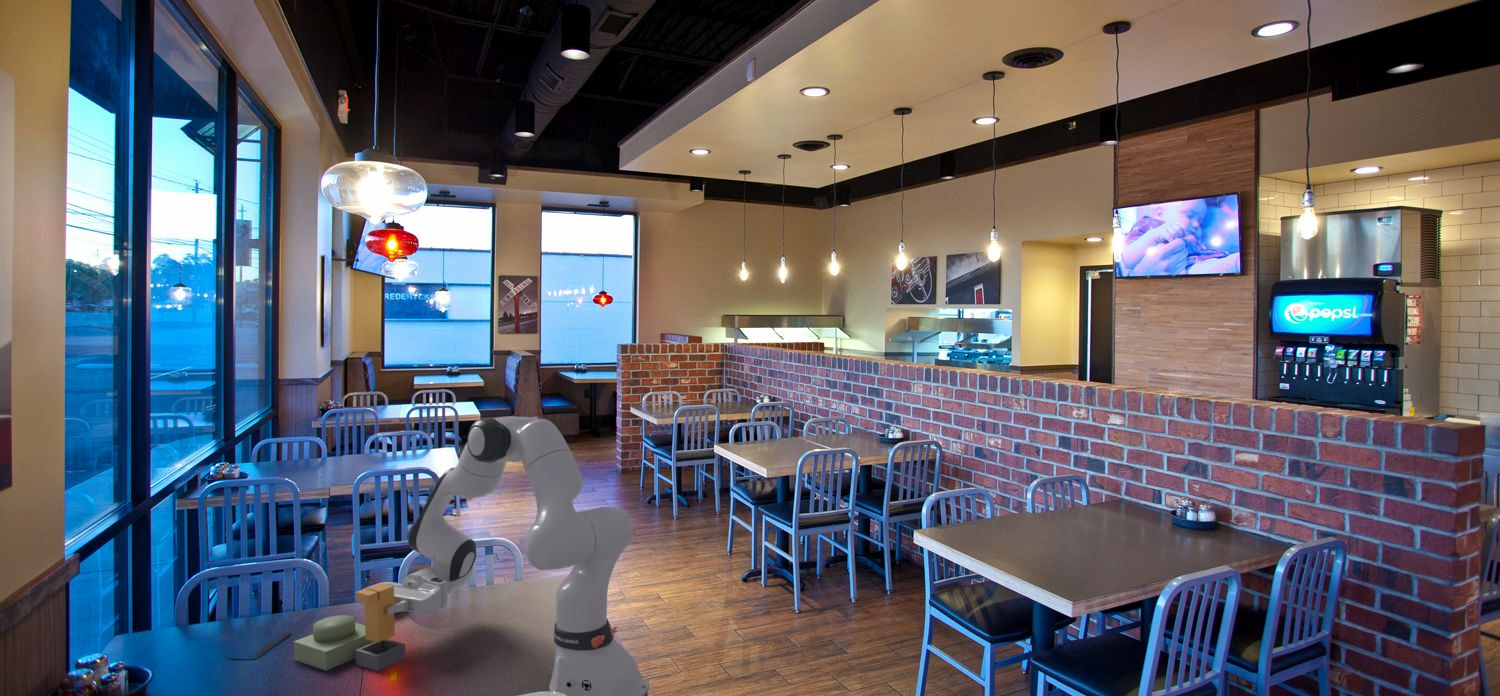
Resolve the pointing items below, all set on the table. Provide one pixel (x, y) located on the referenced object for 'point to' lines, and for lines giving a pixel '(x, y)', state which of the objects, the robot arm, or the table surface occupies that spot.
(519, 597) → the table surface
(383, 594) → the tall tan cardboard block
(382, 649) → the green and grey blocks
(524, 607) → the table surface
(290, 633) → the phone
